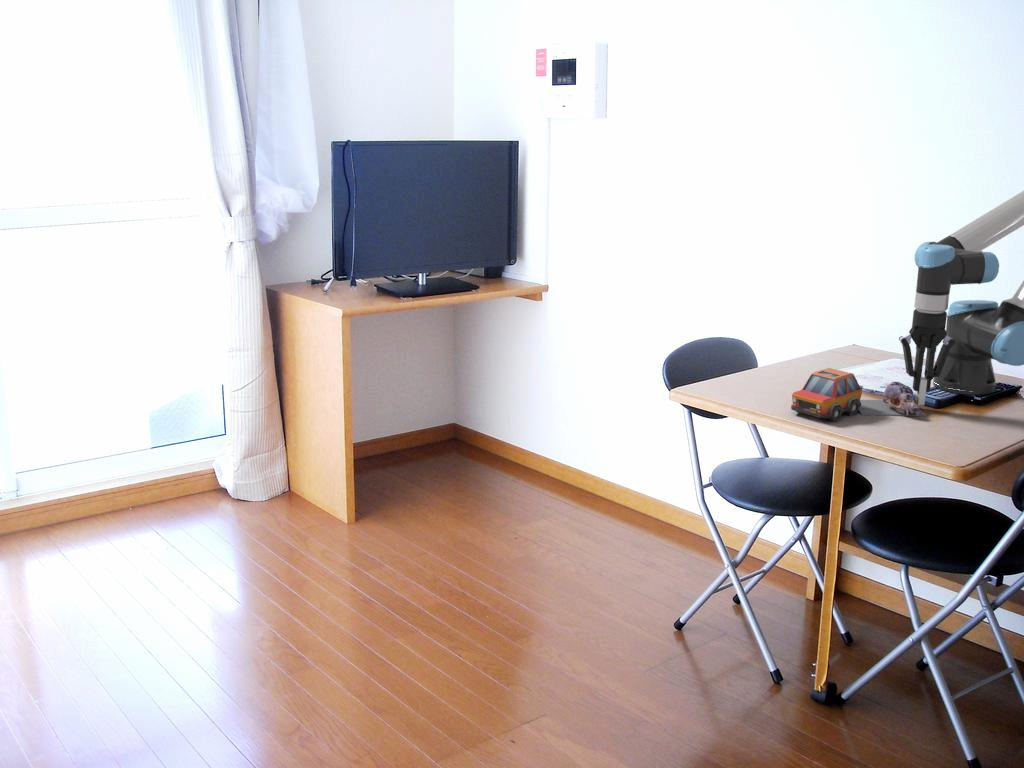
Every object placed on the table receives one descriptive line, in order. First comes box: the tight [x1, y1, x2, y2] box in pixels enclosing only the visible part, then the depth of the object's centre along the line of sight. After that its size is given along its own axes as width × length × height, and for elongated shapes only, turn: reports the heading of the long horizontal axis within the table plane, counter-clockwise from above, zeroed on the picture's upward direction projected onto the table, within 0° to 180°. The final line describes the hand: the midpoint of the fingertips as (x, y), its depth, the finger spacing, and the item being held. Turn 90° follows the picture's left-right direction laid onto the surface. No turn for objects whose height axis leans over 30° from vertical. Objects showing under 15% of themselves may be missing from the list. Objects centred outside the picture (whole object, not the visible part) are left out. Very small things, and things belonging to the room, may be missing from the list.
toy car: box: [790, 367, 864, 423], centre depth 256 cm, size 12×17×10 cm
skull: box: [882, 381, 920, 417], centre depth 256 cm, size 12×8×6 cm, turn 1°
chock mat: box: [858, 399, 926, 417], centre depth 260 cm, size 15×12×1 cm
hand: (919, 403), depth 258 cm, fingers closed
